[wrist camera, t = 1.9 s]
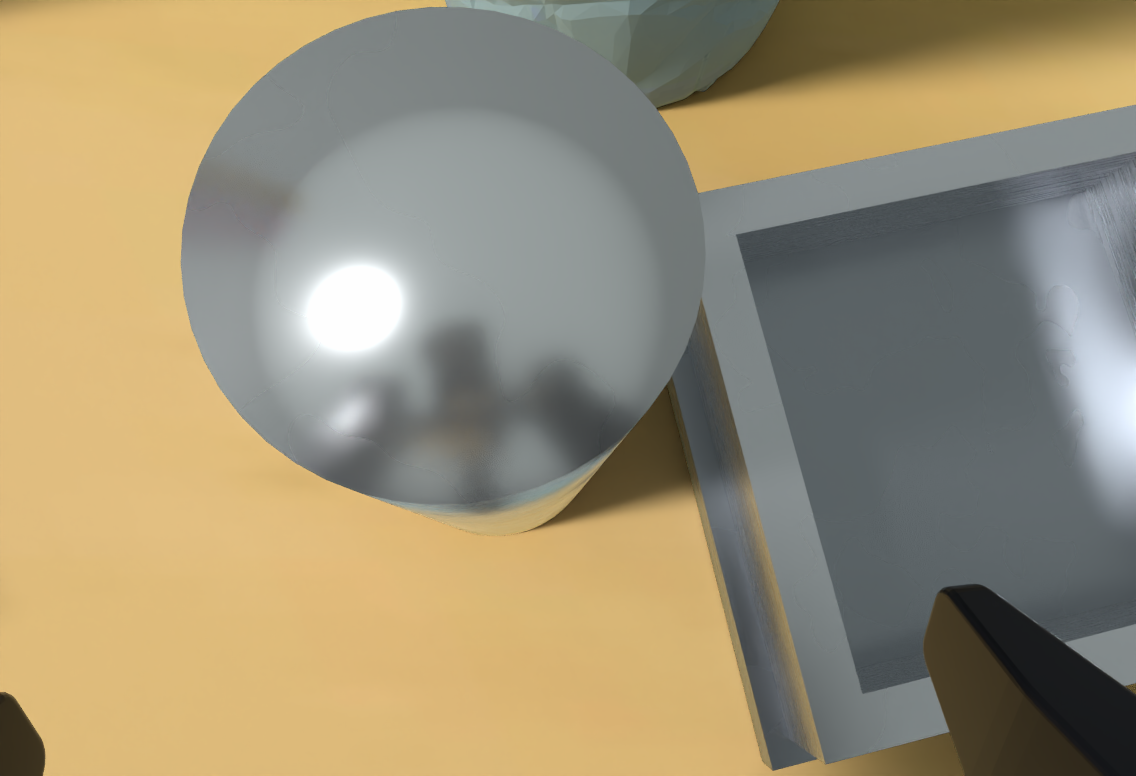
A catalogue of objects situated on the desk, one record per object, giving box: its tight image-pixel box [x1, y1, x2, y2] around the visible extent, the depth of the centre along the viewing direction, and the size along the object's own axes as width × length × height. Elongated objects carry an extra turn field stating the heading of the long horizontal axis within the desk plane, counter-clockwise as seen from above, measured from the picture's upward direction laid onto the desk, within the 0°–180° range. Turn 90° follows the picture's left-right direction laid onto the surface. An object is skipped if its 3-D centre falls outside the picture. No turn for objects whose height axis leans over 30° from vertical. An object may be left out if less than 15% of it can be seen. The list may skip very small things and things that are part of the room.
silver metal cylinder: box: [181, 7, 706, 536], centre depth 14 cm, size 4×4×12 cm
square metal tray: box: [667, 105, 1136, 771], centre depth 19 cm, size 12×12×3 cm
